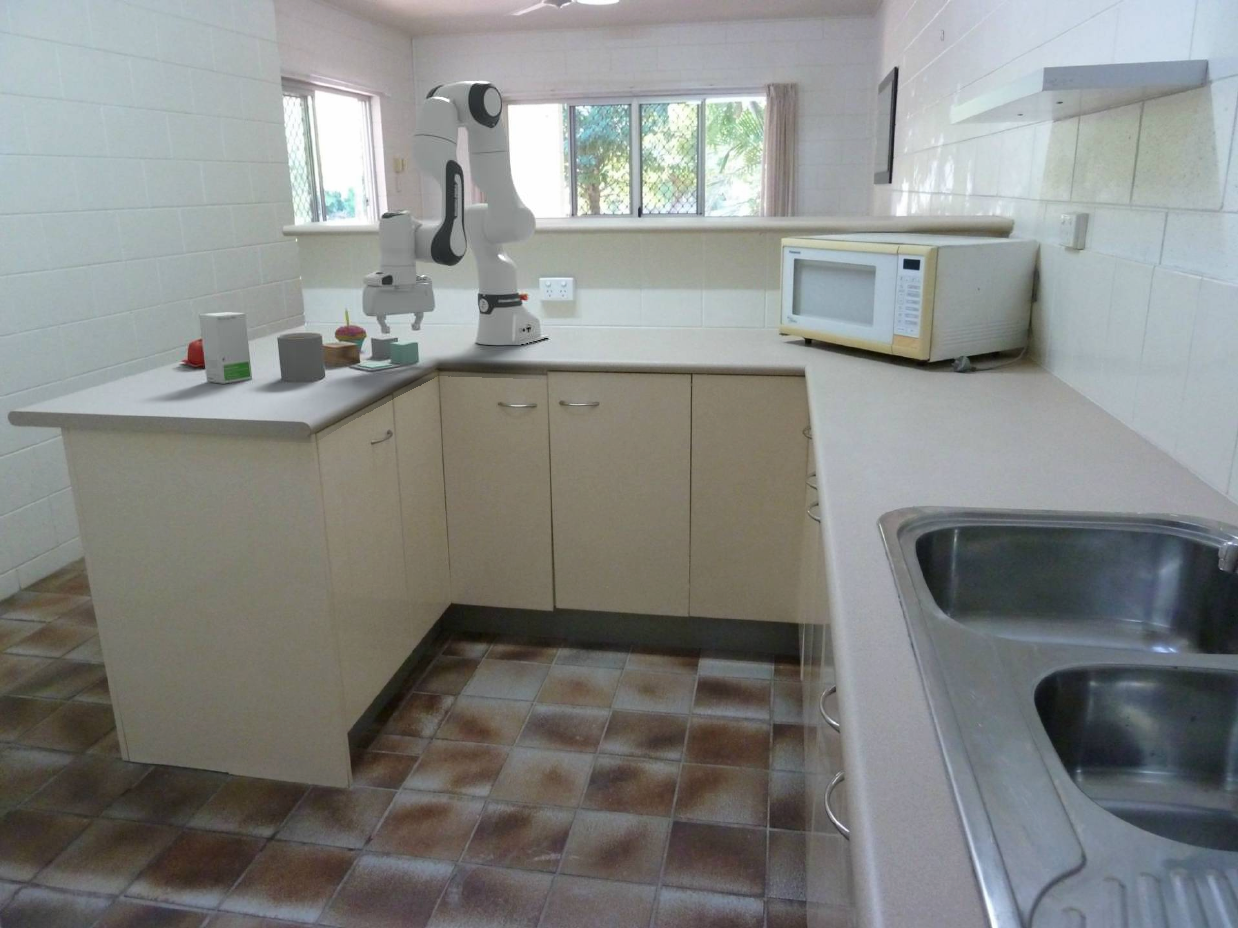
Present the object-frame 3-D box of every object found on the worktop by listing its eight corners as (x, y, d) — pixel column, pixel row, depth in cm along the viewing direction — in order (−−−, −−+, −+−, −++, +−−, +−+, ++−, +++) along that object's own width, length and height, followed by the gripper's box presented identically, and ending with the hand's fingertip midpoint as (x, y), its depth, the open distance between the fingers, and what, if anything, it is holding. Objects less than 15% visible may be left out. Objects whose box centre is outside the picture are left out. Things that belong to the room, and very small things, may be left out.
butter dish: (180, 364, 240) (175, 331, 237) (226, 359, 247) (222, 327, 244) (192, 371, 231) (188, 336, 229) (240, 365, 238) (236, 332, 236)
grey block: (387, 354, 254) (386, 335, 253) (399, 356, 251) (397, 337, 250) (372, 356, 250) (370, 337, 249) (383, 358, 247) (382, 339, 246)
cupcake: (362, 353, 254) (359, 309, 251) (331, 353, 255) (327, 309, 251) (371, 348, 263) (368, 305, 259) (341, 348, 263) (337, 305, 259)
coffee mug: (323, 381, 218) (319, 338, 215) (278, 382, 216) (274, 339, 213) (328, 370, 230) (325, 330, 228) (286, 372, 228) (282, 331, 226)
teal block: (407, 359, 246) (405, 340, 244) (418, 361, 243) (417, 342, 241) (391, 362, 242) (390, 342, 241) (403, 364, 239) (402, 344, 238)
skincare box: (222, 384, 213) (214, 316, 209) (204, 381, 217) (196, 314, 212) (254, 378, 220) (246, 312, 216) (236, 376, 223) (228, 310, 219)
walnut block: (344, 360, 245) (342, 341, 244) (360, 363, 241) (358, 344, 239) (320, 364, 240) (319, 344, 239) (336, 367, 236) (335, 347, 234)
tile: (379, 362, 240) (379, 360, 240) (401, 366, 235) (400, 364, 235) (349, 367, 234) (349, 364, 234) (370, 372, 228) (370, 369, 228)
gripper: (423, 274, 246) (425, 327, 249) (357, 278, 231) (360, 334, 234) (439, 276, 242) (441, 329, 245) (372, 279, 227) (375, 336, 230)
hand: (401, 331), depth 240 cm, fingers open, 8 cm apart
